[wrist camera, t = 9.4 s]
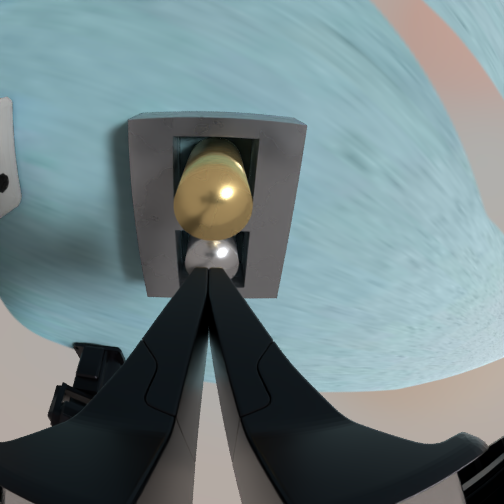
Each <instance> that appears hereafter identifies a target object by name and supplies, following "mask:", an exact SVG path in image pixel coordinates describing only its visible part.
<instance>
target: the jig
mask: <svg viewBox="0 0 504 504" xmlns="http://www.w3.org/2000/svg"><path fill="white" fill-rule="evenodd" d="M306 130H307V125H306V124H304V123H302V122H301V121H299V120H297V119H295V118H291V117H282V116H273V115H262V114H249V113H233V112H202V111H183V112H152V113H141V114H139V115H137V116H135V117H133V118H130V119H128V139H129V160H130V175H131V187H132V197H133V207H134V216H135V224H136V231H137V239H138V245H139V252H140V258H141V264H142V270H143V275H144V281H145V286H146V291H147V296H148V297H173V296H174V294H175V293H176V292H177V290H178V289H179V288H180V286H181V285H182V284H183V282H184V281H185V280H186V278H187V277H188V276H189V274H188V272H187V270H186V267H185V262H183V257H182V239H181V230H184V229H183V228H182V227H181V226H180V224H179V223H178V221H177V219H176V217H175V213H174V197H175V194H176V191H177V189H178V186H179V183H180V136H205V137H235V138H252V139H253V142H252V152H251V162H250V173H249V183H248V185H249V189H250V192H251V196H252V201H253V209H252V214H251V217H250V219H249V221H248V223H247V224H246V226H245V227H244V228H243V229H242V230H241V231H244V238H243V250H242V261H241V263H239V266H238V270H237V272H236V274H235V275H234V277H233V278H231V281H232V282H233V284H234V285H235V286H236V288H237V289H238V291H239V292H240V294H241V295H242V297H243V298H277V294H278V289H279V284H280V279H281V274H282V269H283V264H284V258H285V253H286V248H287V243H288V237H289V232H290V226H291V221H292V215H293V210H294V204H295V198H296V192H297V187H298V181H299V175H300V168H301V162H302V156H303V150H304V143H305V137H306Z"/></svg>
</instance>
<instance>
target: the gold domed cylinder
mask: <svg viewBox="0 0 504 504" xmlns="http://www.w3.org/2000/svg"><path fill="white" fill-rule="evenodd" d="M252 209H253V201H252V196H251V192H250V189H249V185H248V181H247V177H246V173H245V170H244V166H243V162H242V158H241V155H240V152H239V150H238V148H237V147H236V146H235V145H234V144H233V143H232V142H230V141H229V140H227V139H224V138H220V137H211V138H207V139H204V140H202V141H200V142H199V143H198V144H196V146H195V147H194V148H193V149H192V151H191V153H190V155H189V158H188V161H187V163H186V166H185V169H184V172H183V174H182V177H181V180H180V183H179V186H178V189H177V191H176V194H175V197H174V213H175V217H176V219H177V221H178V223H179V224H180V226H181V227H182V228H183V229H184V230H185V231H186V232H187V233H189V234H190V235H192V236H194V237H196V238H198V239H202V240H207V241H219V240H224V239H227V238H230V237H232V236H234V235H236V234H237V233H239V232H240V231H241V230H242V229H243V228H244V227H245V226H246V224H247V223H248V221H249V219H250V217H251V214H252Z"/></svg>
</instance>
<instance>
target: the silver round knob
mask: <svg viewBox="0 0 504 504" xmlns="http://www.w3.org/2000/svg"><path fill="white" fill-rule="evenodd" d="M238 266H239V261H238V252H237V243H236V235H234V236H232V237H230V238H227V239H224V240H219V241H207V240H202V239H198V238H196V237H194V236H192V235H190V234H189V239H188V246H187V253H186V260H185V267H186V270H187V272H188V274H189V275H190V273H191V272H192V271H193V269H194V268H195V267H207V268H208V269H209V268H210V267H221V268H223V269H224V270H225V272H226V273H227V275H228V276H229V278H230V279H231V278H233V277H234V275H235V274H236V272H237V270H238Z"/></svg>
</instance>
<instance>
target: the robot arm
mask: <svg viewBox="0 0 504 504" xmlns="http://www.w3.org/2000/svg"><path fill="white" fill-rule="evenodd" d="M208 338H209V339H210V347H211V353H212V359H213V366H214V372H215V378H216V383H217V389H218V395H219V400H220V406H221V411H222V416H223V421H224V426H225V431H226V436H227V441H228V446H229V451H230V455H231V459H232V462H233V468H234V473H235V477H236V481H237V486H238V490H239V494H240V497H241V502H242V504H504V436H502V437H501V438H500V439H498V440H497V441H495V442H494V443H492V444H490V445H489V446H488V445H487V444H486V443H485V442H484V441H483V440H481V439H479V438H478V437H475V436H473V435H470V434H468V433H465V432H461V433H459V434H457V435H455V436H453V437H451V438H449V439H448V440H446V441H444V442H441V443H436V444H423V443H418V442H414V441H410V440H407V439H403V438H400V437H397V436H393V435H390V434H387V433H384V432H381V431H378V430H375V429H372V428H369V427H366V426H364V425H361V424H358V423H356V422H353V421H351V420H350V419H348V418H346V417H345V416H343V415H342V414H341V413H340V412H338V411H337V410H336V409H335V408H334V407H333V406H332V405H331V404H330V403H329V402H328V401H327V400H326V399H325V398H324V397H323V396H322V395H321V394H320V393H319V392H318V391H317V390H316V389H315V388H314V387H313V386H312V385H311V384H310V383H309V382H308V381H307V380H306V379H305V378H304V377H303V376H302V375H301V374H300V373H299V372H298V370H297V369H296V368H295V367H294V366H293V365H292V364H291V363H290V361H289V360H288V359H287V358H286V356H285V355H284V354H283V352H282V351H281V350H280V348H279V347H278V346H277V344H276V343H275V342H273V339H272V338H271V336H270V335H269V333H268V332H267V331H266V329H265V328H264V326H263V325H262V324H261V322H260V321H259V319H258V318H257V317H256V315H255V314H254V312H253V311H252V309H251V308H250V307H249V305H248V304H247V302H246V301H245V299H244V298H243V297H242V295H241V294H240V292H239V291H238V289H237V288H236V286H235V285H234V284H233V282H232V281H231V279H230V278H229V276H228V275H227V273H226V272H225V270H224V269H223V268H221V267H210V268H209V269H208V268H207V267H195V268H194V269H193V271H192V272H191V273H190V275H189V276H188V277H187V278H186V280H185V281H184V282H183V284H182V285H181V286H180V288H179V289H178V290H177V292H176V293H175V294H174V296H173V297H172V298H171V300H170V301H169V302H168V304H167V305H166V307H165V308H164V309H163V311H162V312H161V313H160V315H159V316H158V317H157V319H156V320H155V321H154V323H153V324H152V326H151V327H150V328H149V330H148V331H147V333H146V334H145V335H144V337H143V338H142V340H141V341H140V342H139V343H138V345H137V346H136V348H135V349H134V351H133V352H132V353H131V354H130V356H129V357H128V358H127V360H125V358H124V356H123V353H122V351H121V350H120V349H118V348H112V347H102V346H94V345H86V344H78V343H75V344H74V349H75V351H76V353H77V354H78V356H79V358H80V361H79V364H78V368H77V371H76V377H75V381H74V384H73V387H71V386H69V385H67V384H66V383H64V382H63V383H62V386H58V385H57V386H56V390H55V393H54V397H53V400H52V403H51V406H50V409H49V412H48V418H49V419H50V421H51V425H52V427H50V428H47V429H44V430H41V431H39V432H36V433H33V434H30V435H27V436H24V437H21V438H18V439H15V440H11V441H7V442H0V504H192V500H193V486H194V473H195V461H196V449H197V438H198V428H199V418H200V408H201V399H202V390H203V381H204V372H205V364H206V356H207V347H208Z"/></svg>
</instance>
